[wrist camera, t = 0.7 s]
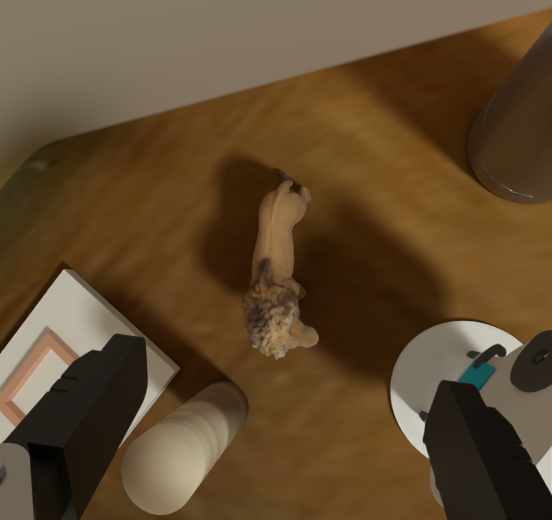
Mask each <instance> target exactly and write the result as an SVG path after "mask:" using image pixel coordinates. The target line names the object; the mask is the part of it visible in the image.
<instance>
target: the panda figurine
mask: <svg viewBox="0 0 552 520" xmlns="http://www.w3.org/2000/svg"><path fill="white" fill-rule="evenodd" d="M442 380H449V381H456V382H463V383H470V384H474V385H475V386H476V387H477V389H478V391H479V393H480V395H481V397H482V399H483V401H484V402H485V404H486V406H488V407H495V408H496V409H497V410H498V411H499V412H500V413H501V414H502V415H503V416H504V417H505V418H506V419H507V420H508V421H509V422H510V423H511V424H512V425H513V427H514V429H515V431H516V432H517V434H518V436H519V438H520V439H521V441H522V443H523V448H526V450H527V452H528V453H529V455H530V457H531V459H532V464H535V466H536V467H537V469H538V471H539V473H540V474H541V476H542V478H543V480H544V481H545V483H546V485H547V487H548V489H549V490H550V492H551V494H552V330H548V331H544V332H541V333H540V334H538V335H537V336H535V337H534V338H533V339H532V340H531V341H529V342H527V343H525V344H521V343H520V342H519V341H518V340H517V339H515V338H514V337H513V336H511V335H509V334H508V333H506V332H504V331H502V330H500V329H498V328H496V327H493V326H490V325H487V324H483V323H479V322H473V321H452V322H446V323H442V324H438V325H436V326H433V327H431V328H429V329H427V330H425V331H423V332H422V333H420V334H418V335H417V336H416V337H415V338H413V339H412V340H411V341H410V342H409V343H408V344H407V346H406V347H405V348H404V349H403V351H402V352H401V354H400V355H399V357H398V359H397V361H396V363H395V366H394V369H393V372H392V376H391V383H390V396H391V403H392V408H393V411H394V415H395V417H396V420H397V422H398V424H399V426H400V428H401V430H402V432H403V433H404V435H405V436H406V437H407V439H408V440H409V441H410V442H411V444H412V445H413V446H414V447H415V448H416V449H417V450H419V451H420V452H421V453H422V454H423V455H425V456H426V457H428V458H429V456H428V453H427V449H426V445H425V439H424V428H425V422H426V419H427V416H428V413H429V411H430V408H431V405H432V402H433V399H434V396H435V394H436V391H437V388H438V385H439V383H440V382H441V381H442ZM430 484H431V490H432V493H433V495H434V497H435V499H436V501H437V502H438V503H439V504H440V505H441V506H442V507H443V508H444V506H443V503H442V499H441V496H440V493H439V489H438V486H437V483H436V479H435V476H434V473H433V469H432V466H431V472H430Z"/></svg>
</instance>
